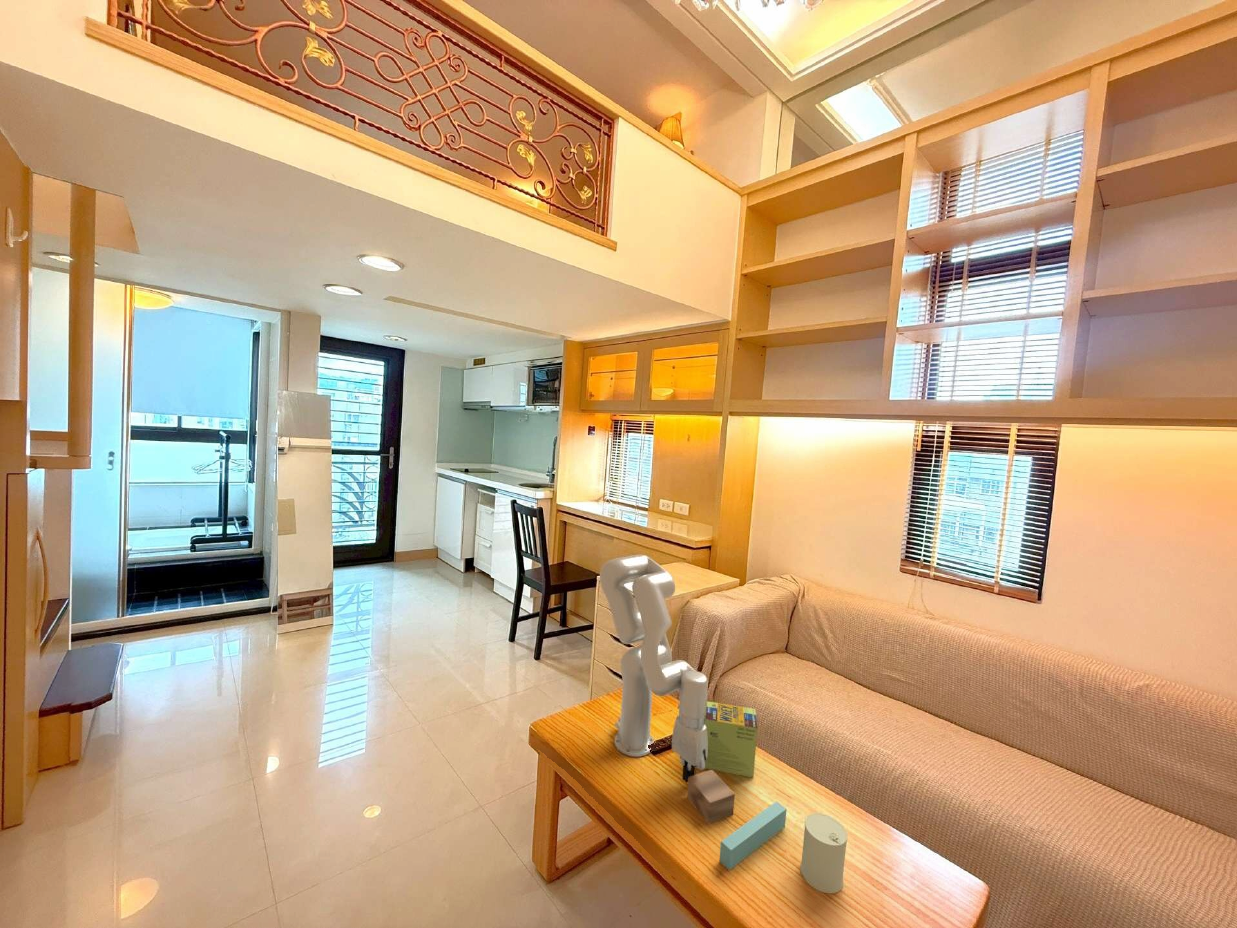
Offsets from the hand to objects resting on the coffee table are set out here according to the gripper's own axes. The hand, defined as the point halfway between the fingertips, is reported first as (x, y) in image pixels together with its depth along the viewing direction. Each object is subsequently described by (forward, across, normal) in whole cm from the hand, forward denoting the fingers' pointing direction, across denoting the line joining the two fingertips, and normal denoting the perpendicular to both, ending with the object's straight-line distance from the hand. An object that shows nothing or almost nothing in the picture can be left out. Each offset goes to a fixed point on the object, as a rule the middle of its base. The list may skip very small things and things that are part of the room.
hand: (688, 779), depth 140 cm
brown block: (+3, +8, 0) cm, 9 cm away
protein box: (+3, -1, +18) cm, 18 cm away
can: (+3, +37, +6) cm, 38 cm away
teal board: (+3, +23, 0) cm, 23 cm away
